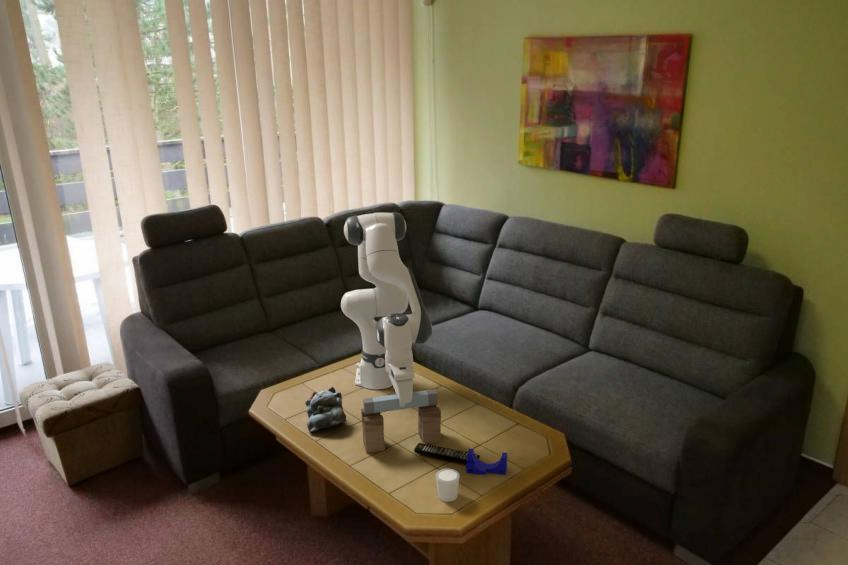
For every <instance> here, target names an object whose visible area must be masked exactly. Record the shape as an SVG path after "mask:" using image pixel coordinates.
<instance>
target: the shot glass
mask: <svg viewBox="0 0 848 565" xmlns="http://www.w3.org/2000/svg"><path fill="white" fill-rule="evenodd" d="M435 481H436V488H437V490H436V491H437V497H438V499H439V500H441V501H442V502H446V503H450V502H454V501H456V500H457V498H458V494H459V486H460V485H459V484H460V473H459V471H457V470H455V469H452V468H442V469H440V470H438V471H437V472H436V473H435Z"/></svg>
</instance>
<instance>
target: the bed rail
mask: <svg viewBox="0 0 848 565" xmlns="http://www.w3.org/2000/svg"><path fill="white" fill-rule="evenodd" d="M362 401H363V402H362V404H363V405H362V406H363V409H364V412H365V414H371V413H378V412H380V413H385V412H390V411H391V412H392V411H399V410H406V409H412V408H413V409H414V408H415V409H416V408H417V407H422V406H429V405H436V406H437V405H438V393H437V391H436V389H428V390H420V391H413V395H412V401H411V402H410V403H405V406H404V407H400V406H399V398H398V396H397V394H396V393H395V394H389V395H383V396H375V397H366V398H363V399H362Z"/></svg>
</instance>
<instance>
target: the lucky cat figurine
mask: <svg viewBox="0 0 848 565" xmlns="http://www.w3.org/2000/svg"><path fill="white" fill-rule="evenodd" d="M304 404H305V406H306V409H305V410H306V414H307V417H308V419H307V421H306V426H307V427H306V428H307V429H308V430H309V433H311V432H315V431H318V430H321V429H326V428H329V427H330V428H331V427H332V426H336V425H338V424H342V423H346V422H347V415H346V413H345V412H344V407H343V395H342V393H341V391H336V389H335V387H334V386H332V387H330V388H329V389H327V390H321V391H319V392H317V391H314V392H312V394H311V396H310V398H307V399H306V400H304Z"/></svg>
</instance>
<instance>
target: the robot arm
mask: <svg viewBox="0 0 848 565" xmlns="http://www.w3.org/2000/svg"><path fill="white" fill-rule="evenodd" d="M406 232H407V223H406V220H405V218H404V216H403V215H402V214H401V213H400V212H394V211H391V212H373V213H365V214H361V215H356V214H355V215H351V216H349V217H347V218H346V219H345V223H344V225H343V234H344V237H345V239H346V241H347V243H348V244H350V245H353V246H357V261H358V264H357V265H358V274H359V276H360V278H362V279H363V280H364V281H366V282H368V283H371V284H373V285H375V287H374V288H363V289H362V288H361V289H354V290H350V291H347V292H345V293H344V294H343V296H342V298H341V301H340V308H341V311H342V312H343V314H344V315H345V316H346V317H347V318H349V319H350V320H351V321H352V322H354V323H355V324H356V325H357V327H358V329H359V331H360V334H361V342H362V349H361V359H360V362H357V363H356V372H355V379H354V385H355V386H358V387H363V388H366V389H368V390H384V389H389V388H391V387H393V389H394V390H395V395H396V394H397V396H398V398H399V406H400V407H404V406H405V403H410V402H411V401H412V395H413V392H414V390H413V389H414V381H413V380H414V379H415V371H414V357H413V356H414V355H413V351H412V346H413V344H415V345H417V344H425V343H426V342H428V341H429V339H430V338H431V337H432V335H433V326H432V325H433V324H432V323H431V320H430V317H429V315H428V313H427V310H426V307H425V304H424V301H423V298H422V294H421V293H420V289H419V287H418V286H419V285H418V284H417V281H416V278H415V275H414V273H413V271H412V269H411V268H410V267H407V266H406V265H405V264H404V263H403V261H402V259H401V257H400V253H399V247H398V242H399V241H401V240H403V239H404V237H405V236H406ZM408 306H410V309H411V312H412V313H411V314H404V313H405V312H406V310H407V309H408ZM379 317H381V318H380V319H379V320H378V321H377V320H375V318H379Z"/></svg>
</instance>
